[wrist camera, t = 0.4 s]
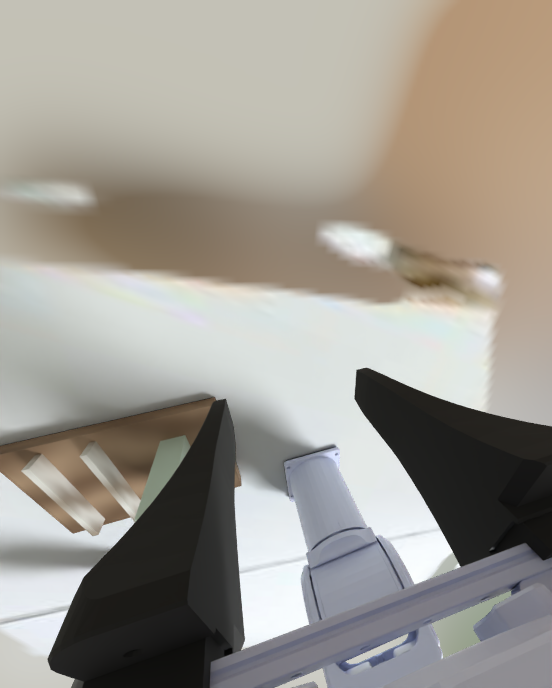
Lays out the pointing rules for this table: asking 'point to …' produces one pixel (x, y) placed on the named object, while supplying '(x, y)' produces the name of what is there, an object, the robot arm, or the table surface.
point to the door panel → (163, 469)
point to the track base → (98, 465)
